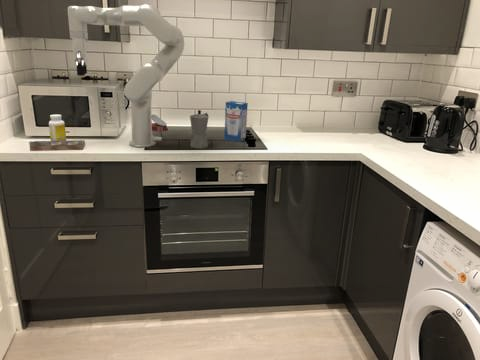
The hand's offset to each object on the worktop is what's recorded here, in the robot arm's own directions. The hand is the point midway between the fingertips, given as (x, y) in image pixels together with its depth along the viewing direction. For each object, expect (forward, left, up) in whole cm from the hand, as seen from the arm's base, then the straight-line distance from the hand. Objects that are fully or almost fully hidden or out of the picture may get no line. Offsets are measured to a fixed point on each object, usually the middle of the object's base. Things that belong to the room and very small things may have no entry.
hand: (82, 74), depth 183 cm
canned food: (-36, -26, -33) cm, 55 cm away
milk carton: (-75, +2, -32) cm, 82 cm away
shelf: (+12, +10, -32) cm, 36 cm away
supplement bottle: (+12, +9, -31) cm, 34 cm away
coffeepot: (-54, +13, -32) cm, 64 cm away
